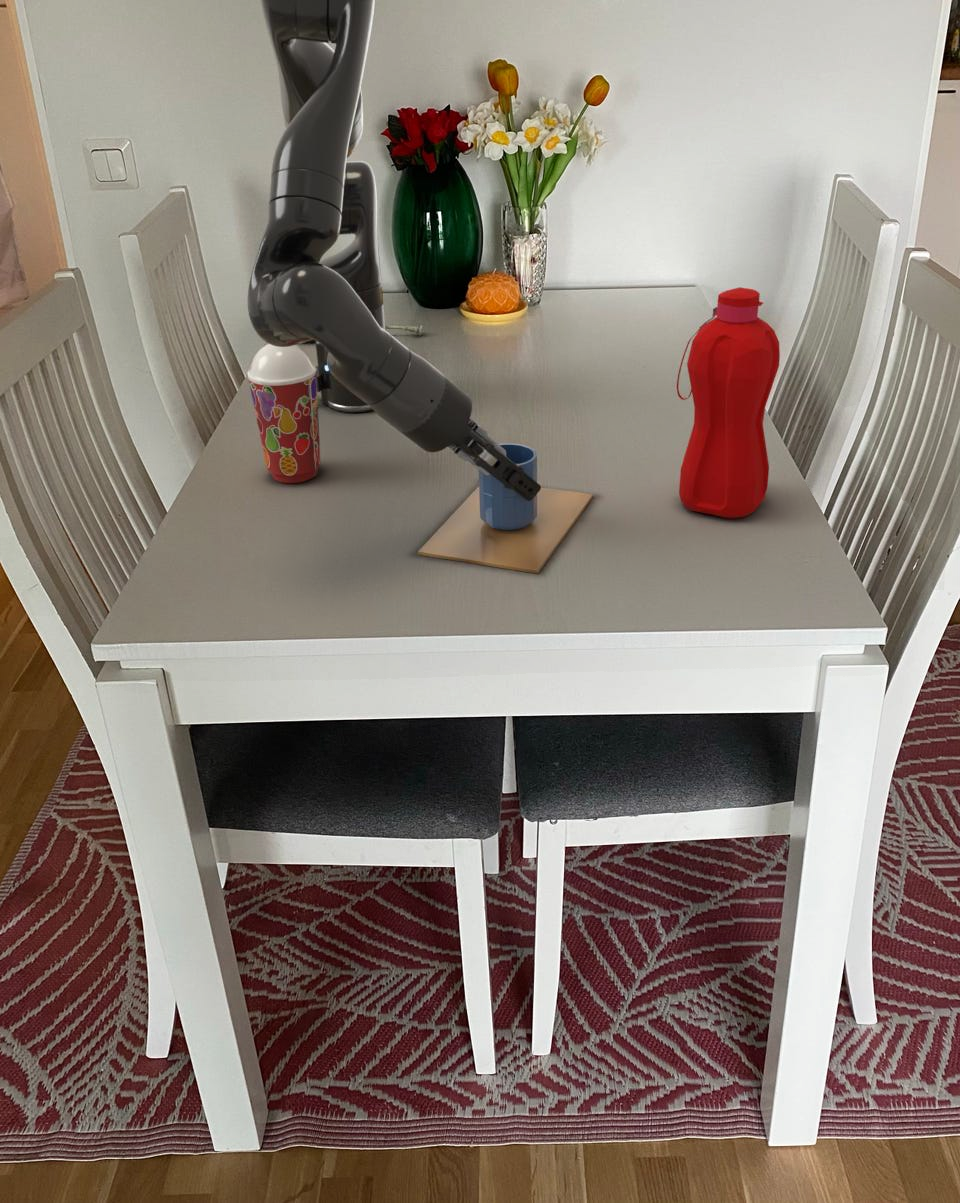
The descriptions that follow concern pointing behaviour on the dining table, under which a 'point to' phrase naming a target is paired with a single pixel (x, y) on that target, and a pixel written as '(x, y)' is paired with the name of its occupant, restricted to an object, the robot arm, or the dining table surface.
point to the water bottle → (729, 408)
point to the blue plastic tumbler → (508, 493)
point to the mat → (508, 533)
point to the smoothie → (286, 411)
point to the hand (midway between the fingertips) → (520, 481)
